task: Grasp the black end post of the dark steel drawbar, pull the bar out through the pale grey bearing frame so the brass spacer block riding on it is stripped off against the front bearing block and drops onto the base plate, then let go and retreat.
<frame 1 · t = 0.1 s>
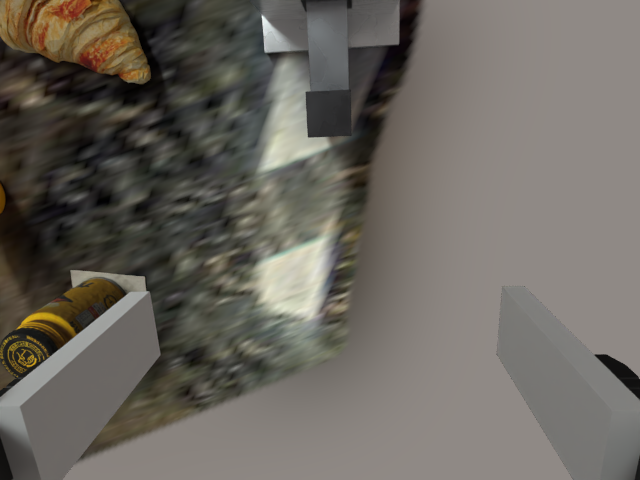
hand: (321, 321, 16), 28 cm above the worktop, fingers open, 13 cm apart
condiment: (112, 301, 48), on the worktop
croissant: (63, 7, 39), on the worktop
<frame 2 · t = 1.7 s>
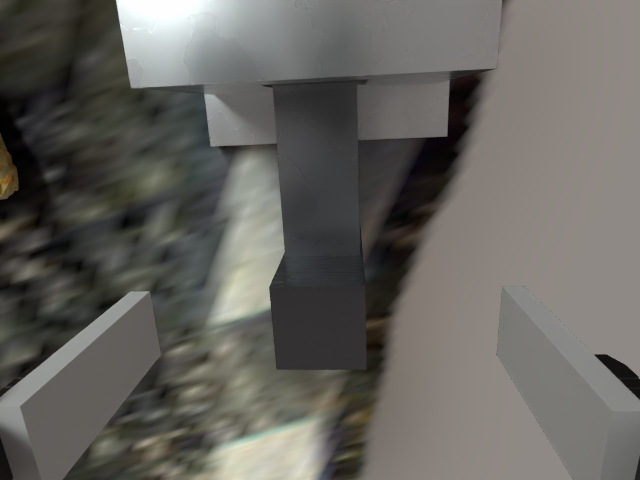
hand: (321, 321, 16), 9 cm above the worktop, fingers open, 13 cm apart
drawbar: (314, 35, 15), point 6 cm above the worktop, slide at 0.0 cm, touching spacer
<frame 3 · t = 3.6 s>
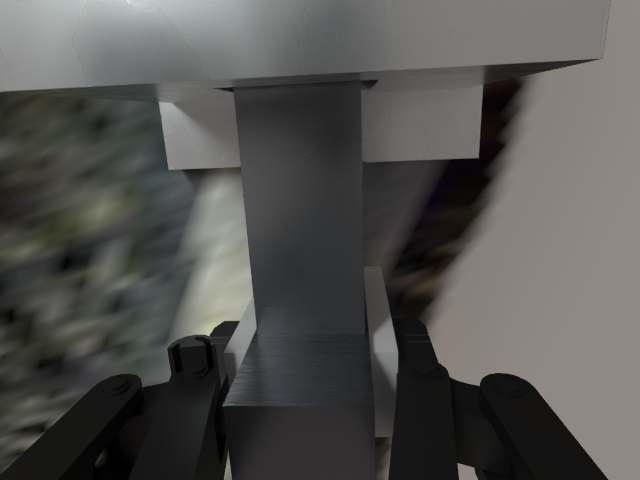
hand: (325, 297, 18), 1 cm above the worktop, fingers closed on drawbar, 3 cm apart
drawbar: (297, 16, 10), point 6 cm above the worktop, slide at 0.0 cm, touching gripper, spacer
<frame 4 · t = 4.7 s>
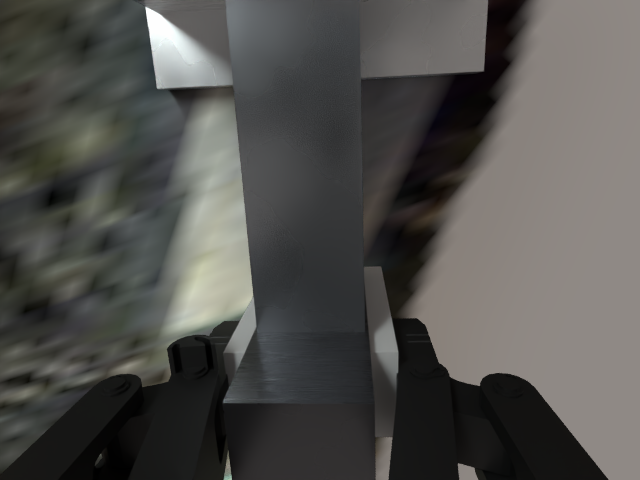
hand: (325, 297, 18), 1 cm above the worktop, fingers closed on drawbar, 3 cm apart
drawbar: (297, 13, 10), point 6 cm above the worktop, slide at 3.0 cm, touching gripper, spacer
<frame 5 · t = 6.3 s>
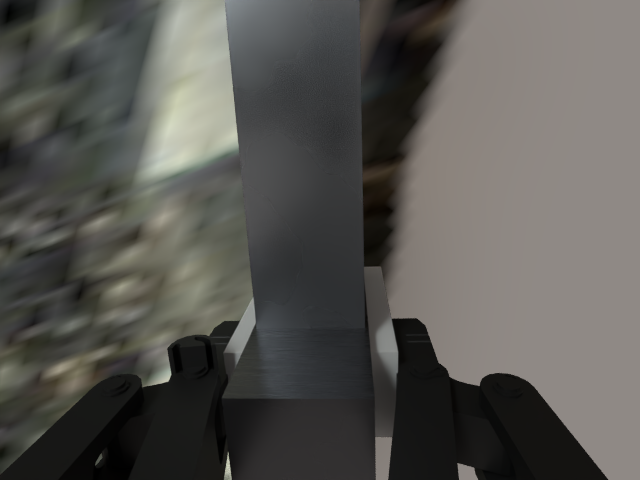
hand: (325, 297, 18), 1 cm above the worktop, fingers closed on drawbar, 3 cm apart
drawbar: (296, 7, 10), point 6 cm above the worktop, slide at 10.2 cm, touching gripper
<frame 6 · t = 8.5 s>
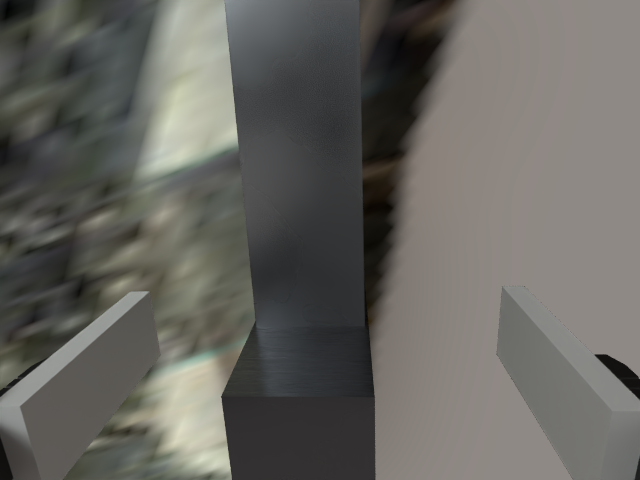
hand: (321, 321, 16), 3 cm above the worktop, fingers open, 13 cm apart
drawbar: (296, 5, 10), point 6 cm above the worktop, slide at 10.3 cm
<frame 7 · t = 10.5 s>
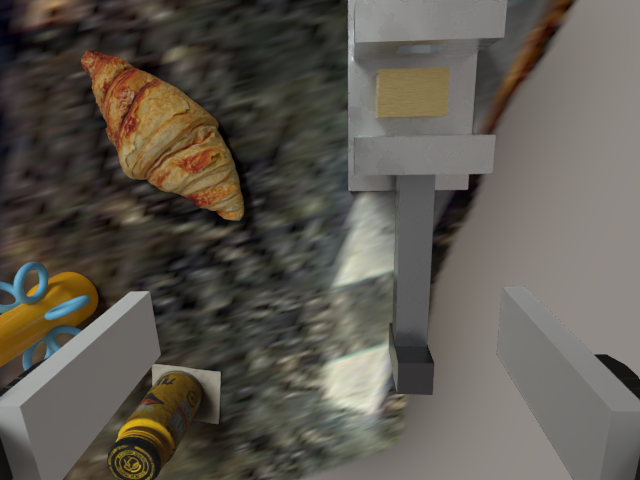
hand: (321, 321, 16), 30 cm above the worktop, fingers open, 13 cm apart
drawbar: (412, 262, 40), point 6 cm above the worktop, slide at 10.3 cm
spacer: (409, 117, 39), point 3 cm above the worktop, tilted 90°, touching bearing frame
condiment: (187, 392, 52), on the worktop
bearing frame: (409, 97, 41), on the worktop
croissant: (175, 141, 44), on the worktop
cylinder: (76, 293, 50), on the worktop
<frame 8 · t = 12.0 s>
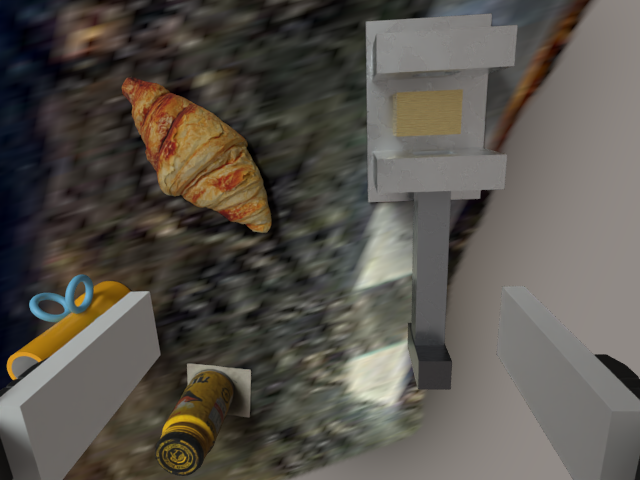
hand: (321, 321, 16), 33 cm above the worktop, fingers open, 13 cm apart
drawbar: (430, 269, 43), point 6 cm above the worktop, slide at 10.3 cm
spacer: (424, 134, 42), point 3 cm above the worktop, tilted 90°, touching bearing frame
condiment: (219, 388, 56), on the worktop
bearing frame: (424, 114, 44), on the worktop
croissant: (206, 158, 48), on the worktop
cylinder: (115, 300, 53), on the worktop
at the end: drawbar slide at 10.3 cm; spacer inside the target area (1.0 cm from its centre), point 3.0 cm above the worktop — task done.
